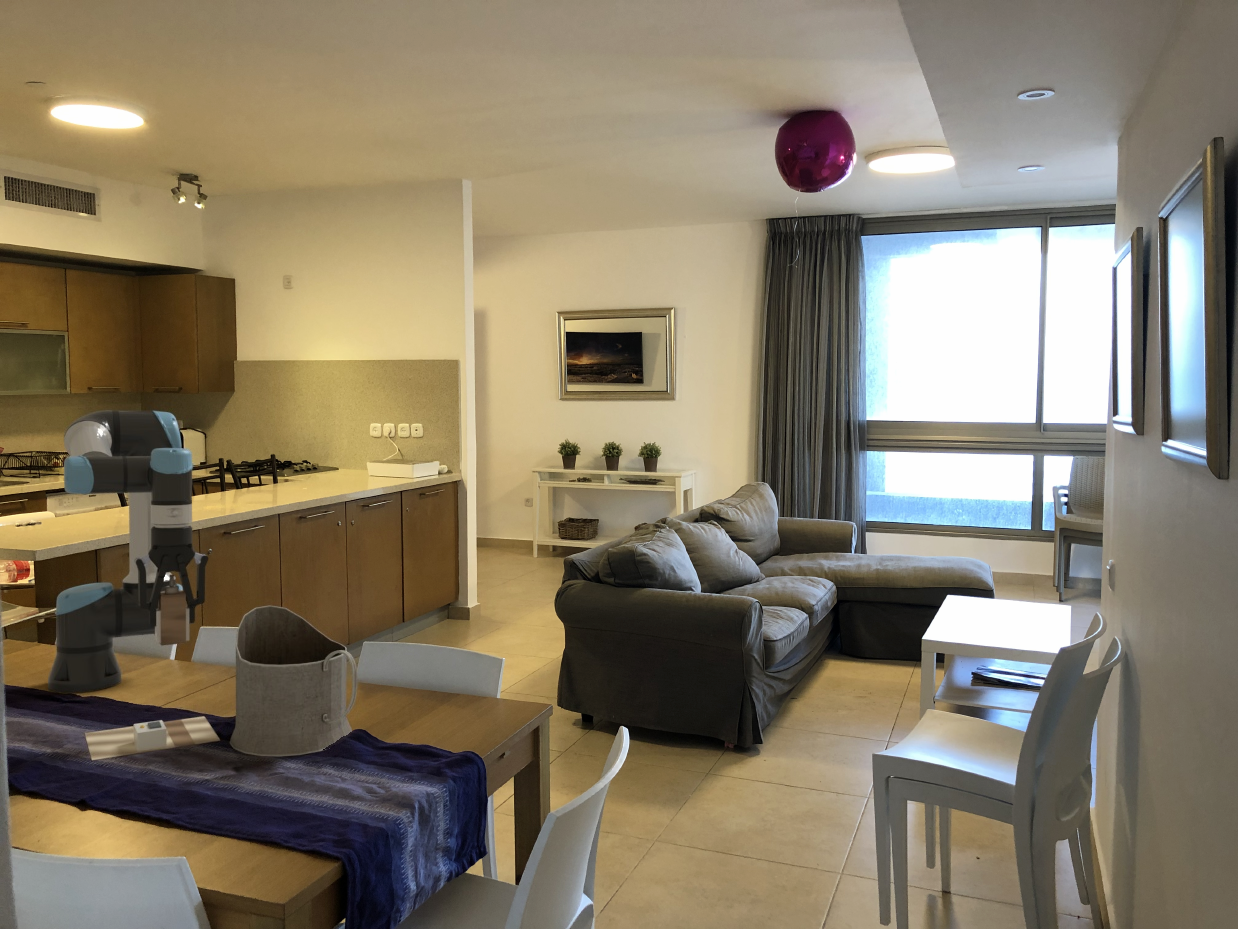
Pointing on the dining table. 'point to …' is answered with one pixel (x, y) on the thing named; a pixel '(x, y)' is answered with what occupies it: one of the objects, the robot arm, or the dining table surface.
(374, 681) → the dining table surface
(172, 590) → the brown upright block
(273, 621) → the pitcher
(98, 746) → the subfloor panel
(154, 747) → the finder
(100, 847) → the dining table surface
